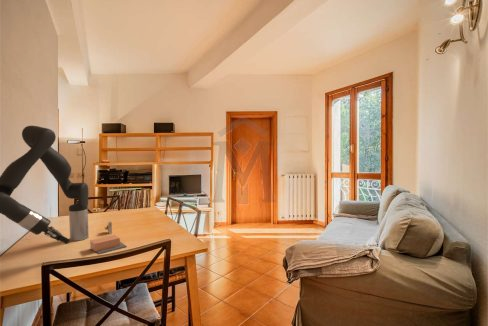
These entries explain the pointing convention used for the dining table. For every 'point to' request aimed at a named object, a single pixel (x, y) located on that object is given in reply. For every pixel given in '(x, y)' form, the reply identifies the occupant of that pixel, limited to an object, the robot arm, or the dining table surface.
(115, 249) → the mat
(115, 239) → the pink rectangular block
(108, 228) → the architectural model
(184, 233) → the dining table surface
